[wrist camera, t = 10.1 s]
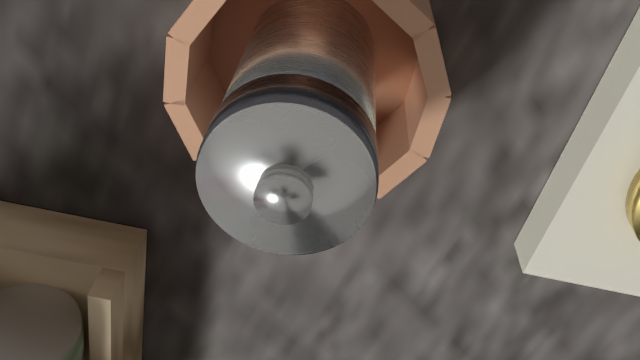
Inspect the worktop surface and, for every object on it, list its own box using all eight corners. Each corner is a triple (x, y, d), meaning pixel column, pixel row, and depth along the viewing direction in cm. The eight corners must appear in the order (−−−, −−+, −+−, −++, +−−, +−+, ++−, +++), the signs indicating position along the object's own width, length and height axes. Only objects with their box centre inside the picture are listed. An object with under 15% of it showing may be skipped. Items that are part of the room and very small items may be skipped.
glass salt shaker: (359, 120, 19) (353, 287, 13) (241, 95, 19) (180, 252, 13) (391, 6, 17) (402, 142, 11) (258, -25, 17) (194, 98, 11)
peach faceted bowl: (397, 168, 21) (401, 232, 18) (187, 124, 21) (158, 183, 18) (469, -45, 17) (490, -6, 14) (207, -107, 16) (172, -79, 13)
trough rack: (140, 380, 29) (92, 510, 24) (18, 357, 29) (-57, 485, 24) (147, 229, 24) (85, 358, 18) (-6, 199, 23) (-111, 323, 18)
